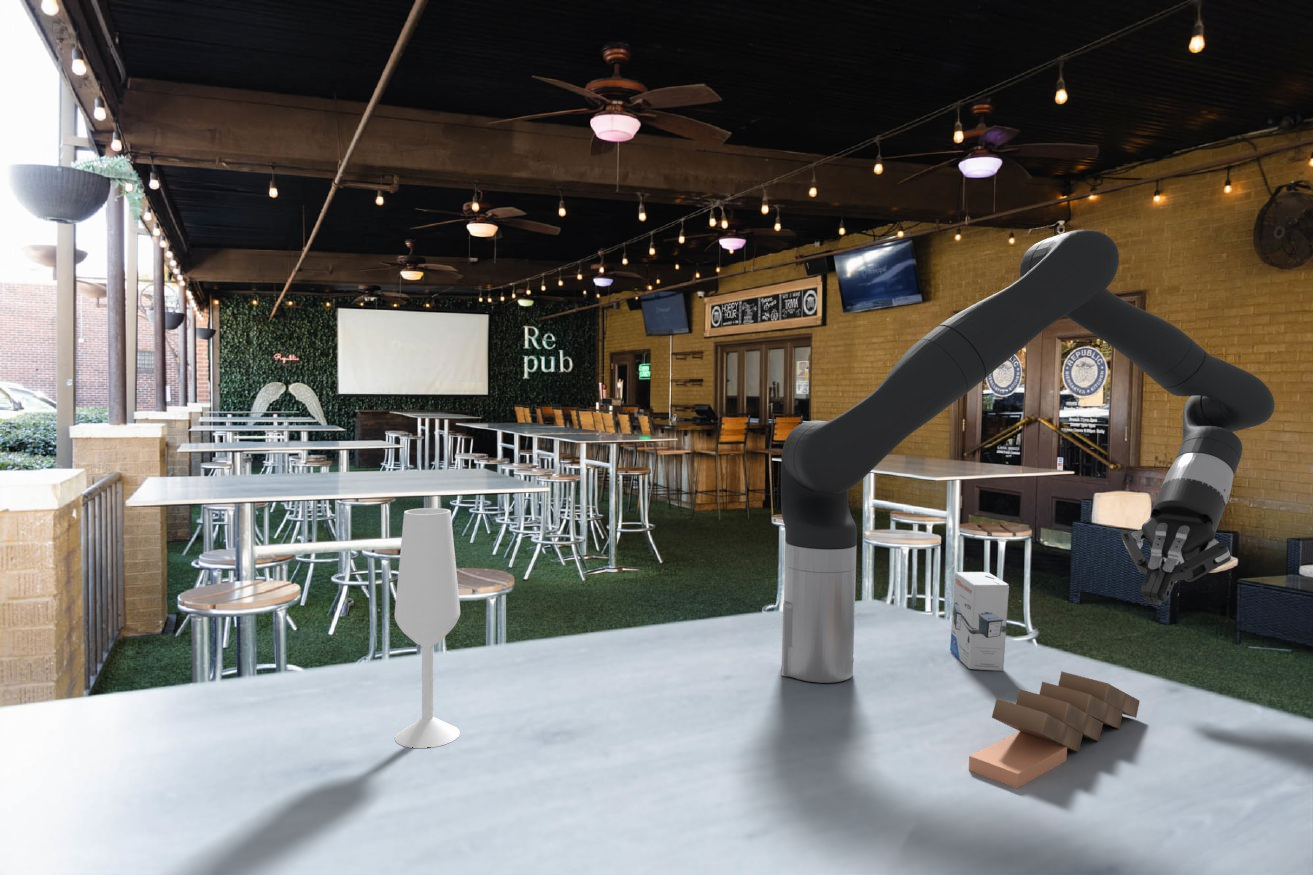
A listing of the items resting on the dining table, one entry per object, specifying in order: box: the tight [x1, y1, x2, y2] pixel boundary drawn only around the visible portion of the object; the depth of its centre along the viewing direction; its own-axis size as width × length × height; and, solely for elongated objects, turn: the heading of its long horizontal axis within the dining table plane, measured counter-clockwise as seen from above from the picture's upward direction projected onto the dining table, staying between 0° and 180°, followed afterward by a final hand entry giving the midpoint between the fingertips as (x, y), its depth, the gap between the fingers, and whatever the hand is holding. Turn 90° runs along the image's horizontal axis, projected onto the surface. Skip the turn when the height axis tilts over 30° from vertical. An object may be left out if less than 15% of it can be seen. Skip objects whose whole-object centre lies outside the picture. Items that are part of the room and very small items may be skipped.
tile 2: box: [1038, 681, 1124, 730], centre depth 95 cm, size 2×5×10 cm
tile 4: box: [991, 698, 1083, 753], centre depth 88 cm, size 2×5×10 cm
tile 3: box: [1015, 688, 1104, 742], centre depth 91 cm, size 2×5×10 cm
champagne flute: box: [394, 507, 461, 749], centre depth 91 cm, size 7×7×24 cm
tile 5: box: [968, 731, 1068, 789], centre depth 86 cm, size 2×5×10 cm
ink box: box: [950, 571, 1010, 672], centre depth 119 cm, size 9×5×12 cm, turn 179°
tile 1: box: [1057, 671, 1141, 718], centre depth 98 cm, size 2×5×10 cm
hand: (1152, 600), depth 106 cm, fingers closed
